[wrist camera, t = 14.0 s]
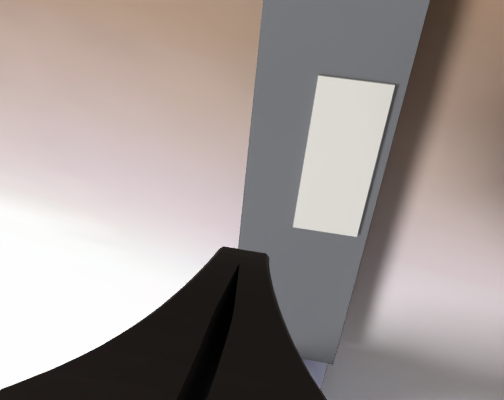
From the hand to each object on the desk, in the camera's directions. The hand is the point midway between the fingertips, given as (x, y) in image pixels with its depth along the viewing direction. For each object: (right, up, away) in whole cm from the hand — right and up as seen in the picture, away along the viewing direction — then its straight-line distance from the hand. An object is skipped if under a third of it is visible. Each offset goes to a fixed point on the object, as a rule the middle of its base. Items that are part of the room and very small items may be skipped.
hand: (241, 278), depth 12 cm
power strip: (+3, +5, +8) cm, 10 cm away
